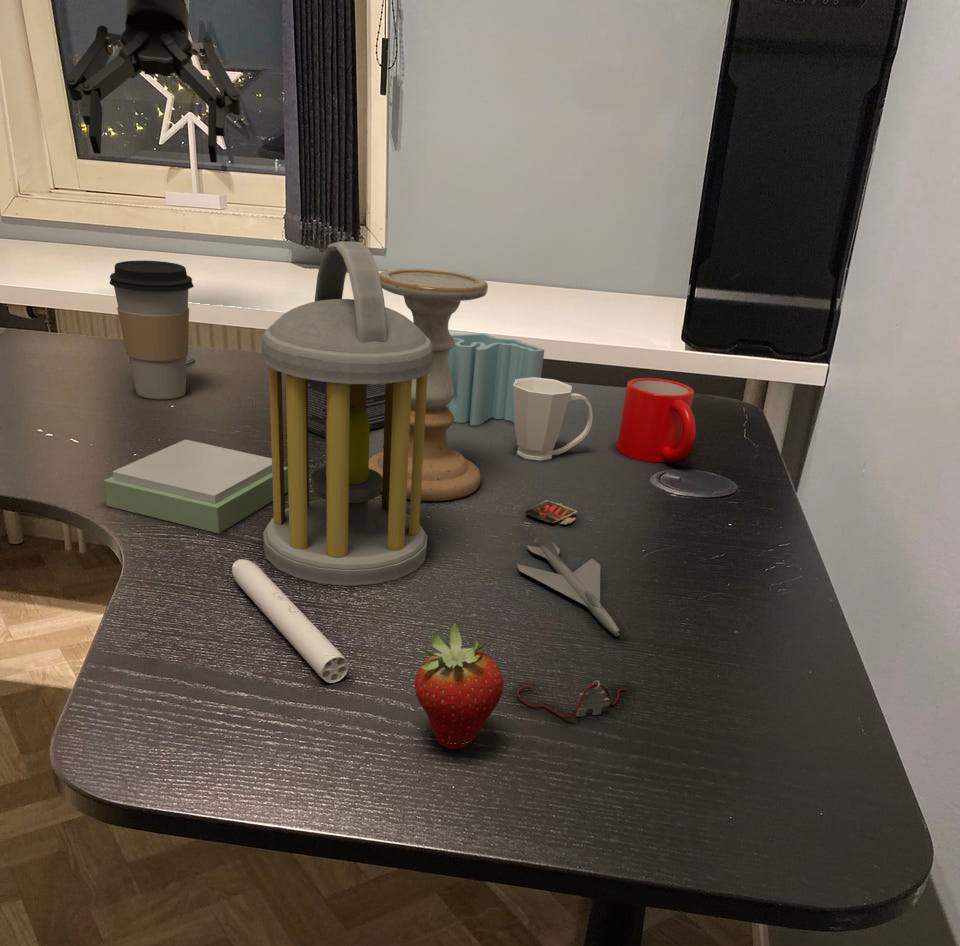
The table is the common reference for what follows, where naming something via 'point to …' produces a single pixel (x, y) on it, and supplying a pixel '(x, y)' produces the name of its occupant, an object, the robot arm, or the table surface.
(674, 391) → the mug
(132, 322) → the coffee cup
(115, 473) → the scale
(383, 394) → the small box
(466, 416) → the squiggly pen holder
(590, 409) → the cup
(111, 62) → the robot arm
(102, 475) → the table surface
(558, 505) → the matchbox
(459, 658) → the fruit
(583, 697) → the pendant
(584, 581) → the toy airplane
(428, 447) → the candle holder
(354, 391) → the lantern
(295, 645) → the white cylindrical rod
